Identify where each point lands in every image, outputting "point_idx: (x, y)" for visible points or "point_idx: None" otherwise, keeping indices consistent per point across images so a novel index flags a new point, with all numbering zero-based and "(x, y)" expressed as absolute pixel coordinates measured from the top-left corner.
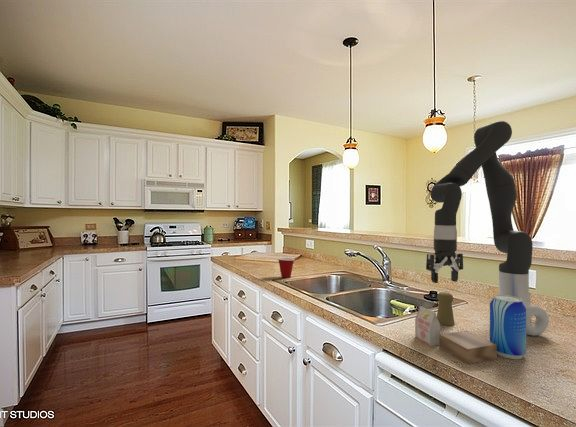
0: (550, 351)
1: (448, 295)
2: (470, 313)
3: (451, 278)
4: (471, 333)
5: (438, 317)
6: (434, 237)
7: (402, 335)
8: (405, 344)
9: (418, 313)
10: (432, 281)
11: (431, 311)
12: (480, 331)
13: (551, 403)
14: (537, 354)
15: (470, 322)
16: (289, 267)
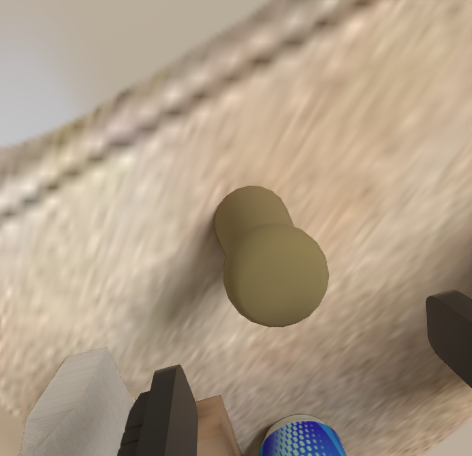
0: (418, 423)
1: (280, 326)
2: (459, 92)
3: (447, 308)
4: (225, 453)
5: (218, 237)
6: None
7: (19, 347)
8: (15, 408)
9: (25, 444)
10: (158, 374)
11: None
12: (335, 306)
13: None
14: (369, 438)
15: (365, 218)
16: None
